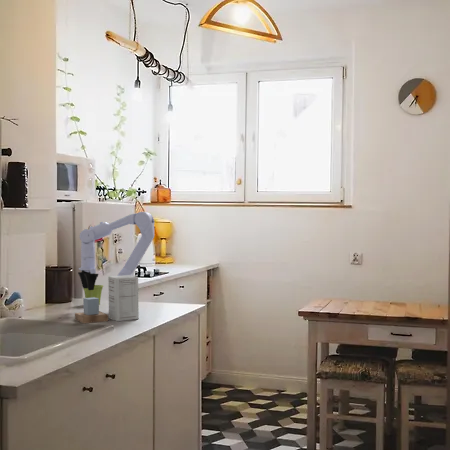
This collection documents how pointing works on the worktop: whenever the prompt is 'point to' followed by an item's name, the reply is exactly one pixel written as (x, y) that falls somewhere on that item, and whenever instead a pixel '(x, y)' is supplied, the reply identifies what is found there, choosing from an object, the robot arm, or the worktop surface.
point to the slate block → (91, 306)
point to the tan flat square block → (91, 317)
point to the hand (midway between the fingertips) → (88, 289)
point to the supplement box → (123, 297)
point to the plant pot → (94, 292)
